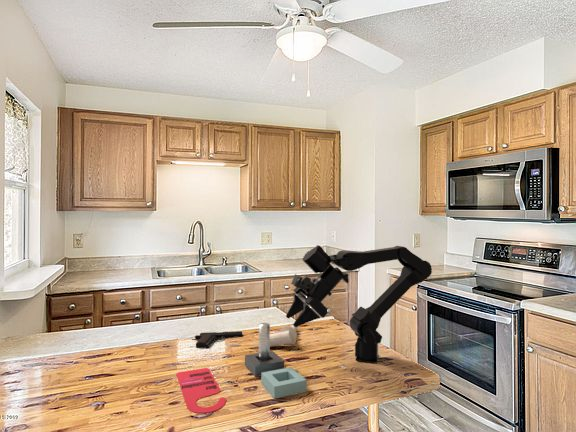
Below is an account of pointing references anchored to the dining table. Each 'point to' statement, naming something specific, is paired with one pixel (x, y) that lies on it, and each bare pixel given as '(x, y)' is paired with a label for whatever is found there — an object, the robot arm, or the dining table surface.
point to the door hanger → (199, 389)
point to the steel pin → (264, 342)
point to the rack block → (283, 382)
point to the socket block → (263, 363)
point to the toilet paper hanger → (284, 336)
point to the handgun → (214, 337)
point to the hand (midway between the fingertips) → (290, 321)
